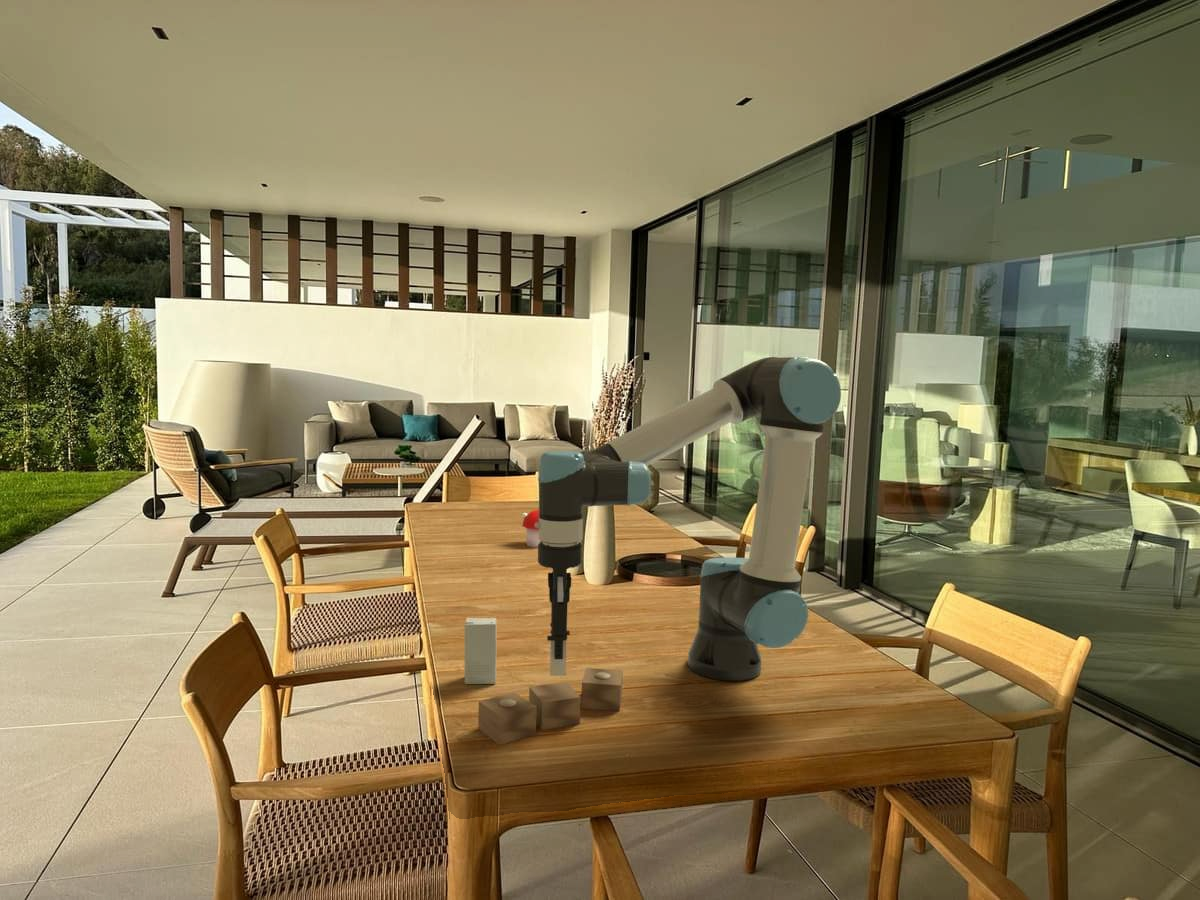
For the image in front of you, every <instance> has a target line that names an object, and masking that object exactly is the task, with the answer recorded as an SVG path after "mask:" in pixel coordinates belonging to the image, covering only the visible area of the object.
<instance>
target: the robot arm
mask: <svg viewBox="0 0 1200 900" xmlns="http://www.w3.org/2000/svg"><path fill="white" fill-rule="evenodd" d="M841 397H842V388H841V384H840V380H839V378H838V375H837V374H836V373H835V371H833V369H832V367H831V366H830V365H828V364H827V363H826V362H824V361H822V360H821V359H820V360H819V359H815V358H810V357H805V356H804V357H802V356H797V357H791V356H790V357H789V356H788V357H785V356H784V357H780V356H779V357H777V356H770V357H764V358H760V359H758V360H755V361H753V362H750V363H748V364H746V365H744V366H743V367H742V366H741V368H738V369H737V370H735V371H733V372H731V373H729V374H727V375H725V376H723V377H721V378H719V379H717V380H715V381H714V383H713V385H712V389H710V390H706V391H705V392H704V393H702V394H700V395H697V396H696V397H695V396H694V398H691V399H690V400H688V401H685V402H684V403H682V404H680V405H678V406H676V407H674V408H672V409H671V410H668V411H667V412H665V413H663V414H661V415H659V416H657V417H655V418H653V419H650V420H649V421H646V422H645V423H643V424H641V425H639V426H638V427H636V428H634V429H632V430H630V431H627V432H626V433H624V434H622V435H620V436H618V437H616V438H613V439H612V440H610V441H608V442H607V443H604V444H603V445H600V446H598V447H596V448H594V449H593V450H589V449H587V450H580V451H575V450H551V451H545V452H544V453H543V454H542V455H541V456H540V457H539V458H540V459H539V465H538V466H539V471H538V478H537V481H538V510H539V522H537V523H535V527H536V528H539V540H540V541H541V542H540V543H539V544H538V547H537V563H538V564H539V565H540V566H541V567H544V568H547V569H549V568H550V569H552V571H551V572H547V583H548V584H547V586H548V597H549V598H548V599H549V602H550V604H551V609H550V610H551V612H550V615H551V616H550V617H551V619H550V620H551V621H550V628H551V630H550V634H551V635H547V639H546V641H550V651H549V652H550V654H549V655H550V656H549V657H550V658H549V663H550V665H549V667H550V669H549V671H550V672H549V676H550V677H558V676H559V677H563V676H565V677H566V676H567V641H568V640H567V639H568V636H570V633H571V631H570V630H568V629H567V628H568V627H567V626H568V603H569V602H570V596H571V593H570V591H571V588H572V577H571V575H572V574H571V572H567V570H569V569H570V568H572V569H573V568H577V567H579V566H580V565H581V564H582V562H583V560H582V559H583V558H582V557H583V545H582V543H581V541H582V540H583V537H584V536H583V530H584V529H583V527H584V526H583V525H584V524H583V523H584V517H583V515H584V513H583V510H584V508H585V507H601V506H602V507H607V506H627V507H628V506H633V505H639V504H643V503H646V502H647V500H649V497H650V494H651V491H652V478H651V473H650V471H649V467H648V466H649V465H652V464H654V463H656V462H658V461H660V460H661V459H663V458H665V457H667V456H669V455H670V454H672V453H675V452H676V451H678V450H680V449H682V448H684V447H686V446H688V445H690V444H691V443H694V442H695V441H697V440H699V439H701V438H703V437H705V436H707V435H709V434H711V433H712V432H715V431H717V430H718V429H721V428H723V427H724V426H726V425H728V424H733V425H734V424H735V425H739V424H741V423H742V422H745V421H747V420H750V419H753V418H757V417H758V418H759V417H760V419H759V427H760V430H762V432H764V434H765V444H764V450H763V457H762V463H761V464H762V465H761V470H760V471H761V473H760V478H759V486H758V492H757V500H756V505H755V506H756V507H755V514H754V520H753V527H752V534H751V542H750V547H749V548H750V549H749V553H748V554H749V555H748V558H747V557H734V556H733V557H730V556H729V557H713V558H709V559H706V560H704V562H703V563H702V566H701V572H700V576H699V578H700V587H699V607H698V626H697V627H698V628H697V631H696V633H695V636H694V638H693V642H692V643H691V646H690V649H689V651H688V654H687V655H688V658H687V665H688V668H689V669H690V670H691V671H693V672H694V673H696V674H698V675H700V676H703V677H706V678H710V679H713V680H720V681H727V682H728V681H730V682H737V681H738V682H739V681H747V680H751V679H753V678H757V677H758V676H759V675H760V674H761V672H762V665H763V664H762V657H761V656H762V655H761V653H760V649H759V646H758V644H759V645H761V646H762V647H764V648H769V649H779V648H783V647H786V646H788V645H790V644H792V643H793V641H795V639H798V638H799V637H800V636H801V634H802V633H803V632H804V630H805V628H806V626H807V623H808V621H809V607H808V604H807V603H806V602H805V599H804V597H803V596H802V595H801V594H800V588H801V582H802V576H801V575H800V573H799V571H797V569H796V568H795V567H796V559H797V554H798V553H797V552H798V545H799V538H800V531H801V524H802V517H803V511H804V505H805V499H806V492H807V491H806V490H807V485H808V477H809V472H810V464H811V456H812V450H813V443H814V441H816V440H817V439H818V438H820V437H821V436H822V435H823V433H824V426H825V422H827V421H829V420H830V419H831V418H832V415H834V414H836V412H837V411H838V409H839V406H840V404H841V399H842V398H841Z"/></svg>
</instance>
